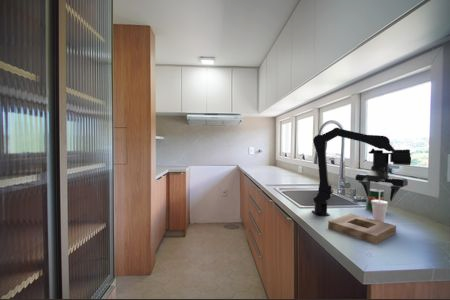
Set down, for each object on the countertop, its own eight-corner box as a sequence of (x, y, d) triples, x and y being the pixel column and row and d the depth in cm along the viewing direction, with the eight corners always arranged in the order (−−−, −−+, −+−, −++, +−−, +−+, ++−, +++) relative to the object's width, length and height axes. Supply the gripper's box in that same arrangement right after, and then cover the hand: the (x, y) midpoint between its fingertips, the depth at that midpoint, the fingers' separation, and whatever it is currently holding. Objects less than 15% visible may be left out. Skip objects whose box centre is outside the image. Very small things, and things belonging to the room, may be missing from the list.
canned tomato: (373, 212, 117) (373, 191, 117) (362, 208, 125) (363, 188, 125) (387, 212, 118) (388, 191, 117) (376, 207, 126) (376, 188, 125)
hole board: (328, 228, 96) (328, 221, 96) (350, 219, 106) (350, 213, 106) (375, 244, 81) (376, 235, 81) (395, 232, 91) (396, 225, 91)
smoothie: (386, 221, 104) (387, 191, 103) (388, 226, 98) (389, 194, 98) (370, 219, 107) (371, 189, 106) (370, 223, 101) (371, 192, 101)
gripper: (349, 163, 105) (348, 196, 105) (398, 167, 89) (396, 206, 90) (361, 162, 111) (360, 193, 112) (408, 165, 96) (407, 202, 96)
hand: (379, 198), depth 102 cm, fingers open, 9 cm apart
